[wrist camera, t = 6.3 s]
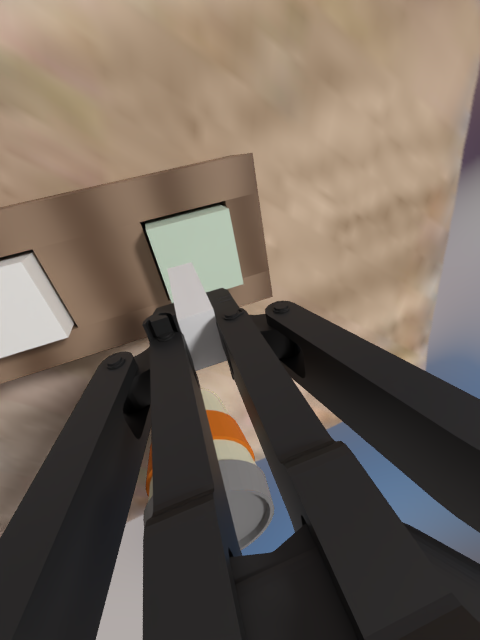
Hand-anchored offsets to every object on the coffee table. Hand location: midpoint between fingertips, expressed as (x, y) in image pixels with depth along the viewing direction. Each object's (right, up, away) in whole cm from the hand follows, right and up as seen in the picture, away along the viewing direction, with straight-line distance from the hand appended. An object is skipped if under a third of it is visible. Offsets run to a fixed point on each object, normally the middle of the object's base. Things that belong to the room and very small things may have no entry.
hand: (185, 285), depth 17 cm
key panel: (-9, +4, +9) cm, 13 cm away
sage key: (-1, +5, +8) cm, 10 cm away
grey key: (-14, 0, +6) cm, 16 cm away
